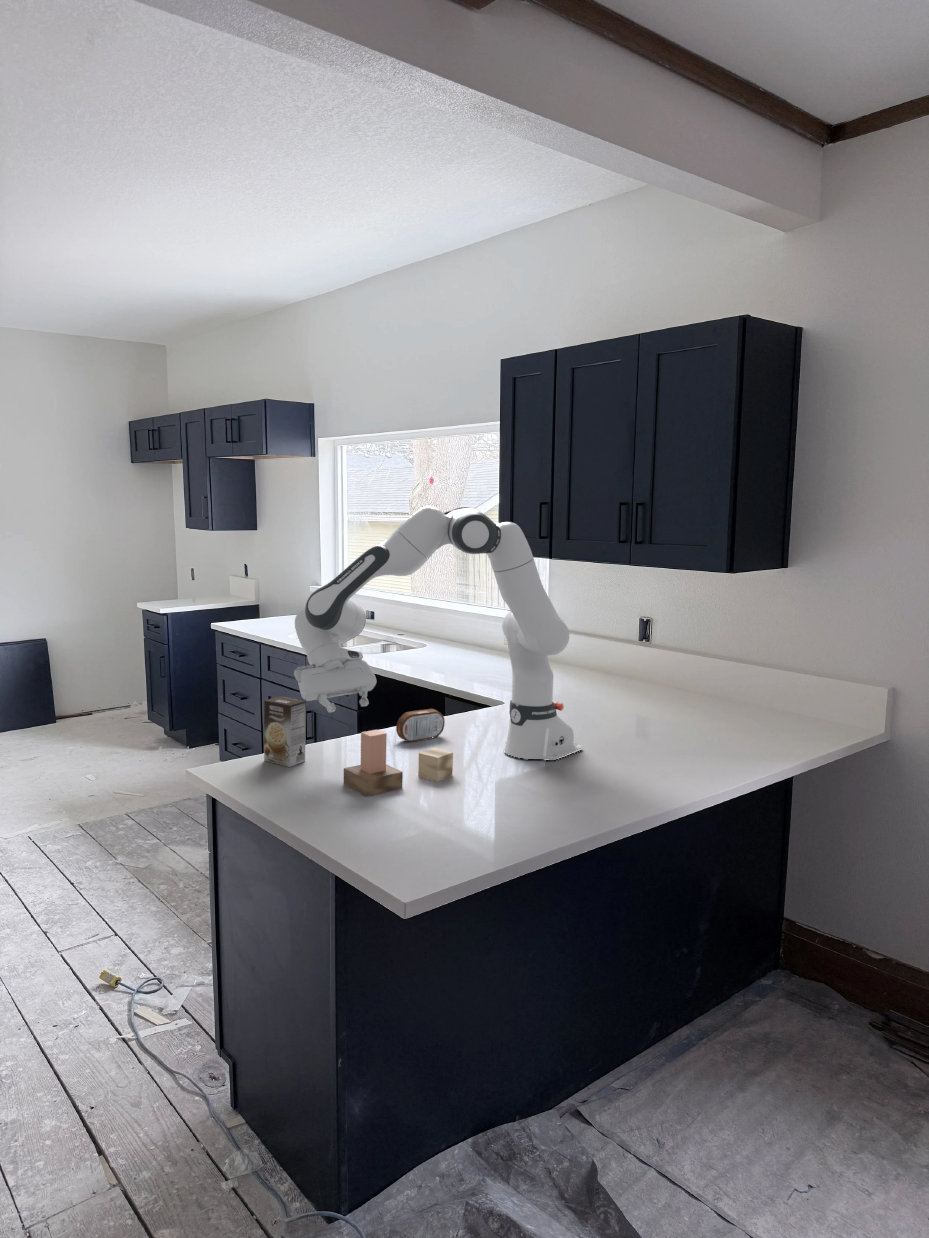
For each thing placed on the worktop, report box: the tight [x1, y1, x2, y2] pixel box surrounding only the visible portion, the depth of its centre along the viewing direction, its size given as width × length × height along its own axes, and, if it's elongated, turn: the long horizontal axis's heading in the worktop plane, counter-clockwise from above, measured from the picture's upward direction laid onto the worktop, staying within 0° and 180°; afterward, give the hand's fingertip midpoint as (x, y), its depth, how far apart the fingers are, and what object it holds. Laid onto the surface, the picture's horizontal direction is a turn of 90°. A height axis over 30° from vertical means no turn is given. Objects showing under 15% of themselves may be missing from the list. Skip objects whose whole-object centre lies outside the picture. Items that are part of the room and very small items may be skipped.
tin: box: [395, 708, 446, 743], centre depth 241 cm, size 15×3×8 cm, turn 125°
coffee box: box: [263, 695, 307, 768], centre depth 217 cm, size 9×6×16 cm
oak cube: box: [417, 747, 454, 782], centre depth 209 cm, size 6×6×6 cm
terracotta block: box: [360, 729, 387, 774], centre depth 200 cm, size 4×4×9 cm
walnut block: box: [343, 763, 404, 797], centre depth 200 cm, size 10×10×4 cm
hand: (349, 707), depth 209 cm, fingers open, 8 cm apart
